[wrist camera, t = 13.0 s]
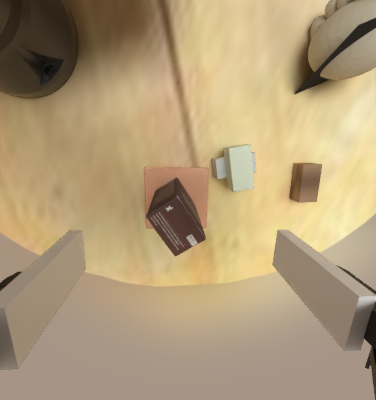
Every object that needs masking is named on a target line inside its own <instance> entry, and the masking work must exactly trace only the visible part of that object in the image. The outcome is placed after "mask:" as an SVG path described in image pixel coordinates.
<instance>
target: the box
mask: <svg viewBox="0 0 376 400" xmlns="http://www.w3.org/2000/svg"><path fill="white" fill-rule="evenodd" d="M146 217H147V219H148V220H149V222H150V223H151V224H152V226H153V227H154V229H155V230H156V231H157V233H158V234H159V235H160V237H161V238H162V239H163V241H164V242H165V243H166V245H167V246H168V248H169V249H170V250H171V252H172V253H173V254H174V255H175V256H177V255H179V254H181V253H183V252H184V251H186V250H188V249H189V248H191V247H193V246H194V245H196V244H198V243H200V242H202V241H204V240H205V239H206V237H205V234H204V231H203V227H202V225H201V221H200V218H199V215H198V212H197V209H196V206H195V204H194V202H193V201H192V199H191V197H190V196H189V194H188V193H187V191H186V190H185V188H184V187H183V185H182V184H181V182H180V181H179V179H178V178H177V177H176V178H174V179H172V180H171V181H170V182H168V183H166V184H165V185H163V186H162V187H160V188H159V189H157V190H155V193H154V196H153V198H152V201H151V204H150V207H149V210H148V212H147V215H146Z"/></svg>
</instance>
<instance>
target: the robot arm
mask: <svg viewBox="0 0 376 400" xmlns="http://www.w3.org/2000/svg"><path fill="white" fill-rule="evenodd" d="M77 55H78V36H77V30H76V26H75V23H74V20H73V17H72V15H71V12H70V10H69V8H68V7H67V5H66V3H65V2H64V0H0V91H1V92H4V93H7V94H10V95H13V96H17V97H23V98H37V97H42V96H46V95H48V94H51V93H53V92H55V91H56V90H58V89H59V88H60V87H61V86H62V85H64V84H65V82H66V81H67V80H68V79H69V77H70V75H71V74H72V72H73V70H74V67H75V64H76V60H77ZM272 265H273V266H274V268H275V269H276V270H277V271H278V272H279V273H280V275H281V276H282V277H283V278H284V279H285V281H286V282H287V283H288V284H289V286H290V287H291V288H292V289H293V290H294V292H295V293H296V294H297V295H298V296H299V297H300V299H301V300H302V301H303V302H304V303H305V305H306V306H307V307H308V308H309V309H310V311H311V312H312V313H313V314H314V316H315V317H316V318H317V319H318V320H319V321H320V323H321V324H322V325H323V326H324V327H325V329H326V330H327V331H328V332H329V334H330V335H331V336H332V337H333V338H334V339H335V341H336V342H337V343H338V344H339V346H340V347H341V348H342V349H343V350H344V351H352V350H361V347H362V344H363V340H364V339H365V340H366V341H367V342H368V343H369V344H370V345H371V346H372V347H371V350H370V353H369V357H368V359H367V362H366V366H365V368H367V369H369V366H370V365H371V368H372V376H373V385H374V393H375V400H376V291H375V290H373V289H372V288H371V287H369V286H368V285H366V284H365V283H363V282H362V281H361V280H360V279H358V278H356V277H355V276H354V275H353V274H351V273H350V272H349V271H347V270H345V269H343V268H341V267H339V266H337V265H335V264H333V263H332V262H331V261H329V260H328V259H327V258H325V257H324V256H323V255H321V254H320V253H319V252H317V251H316V250H315V249H313V248H312V247H311V246H309V245H308V244H307V243H305V242H304V241H302V240H301V239H300V238H298V237H297V236H296V235H294V234H293V233H292V232H290V231H289V230H278V231H277V238H276V244H275V251H274V258H273V264H272ZM85 269H86V263H85V254H84V244H83V235H82V231H69V232H67V233H66V234H65V235H64V236H63V237H62V238H61V239H59V240H58V241H57V242H56V243H55V244H54V245H53V246H51V247H50V248H49V249H48V250H47V251H46V252H45V253H43V254H42V255H41V256H40V257H39V258H38V259H37V260H36V261H34V262H33V263H32V264H31V265H30V266H29V267H27V268H26V269H25V270H24V271H23V272H17V273H15V274H13V275H11V276H9V277H7V278H6V279H5V280H3V281H2V282H1V283H0V370H10V369H19V368H20V366H21V365H22V363H23V362H24V360H25V359H26V357H27V356H28V354H29V353H30V351H31V350H32V348H33V347H34V345H35V344H36V342H37V341H38V339H39V338H40V336H41V335H42V333H43V332H44V330H45V329H46V327H47V326H48V324H49V323H50V321H51V320H52V318H53V317H54V315H55V314H56V312H57V311H58V309H59V308H60V306H61V305H62V303H63V302H64V300H65V299H66V297H67V296H68V294H69V293H70V291H71V290H72V288H73V287H74V285H75V284H76V282H77V281H78V280H79V278H80V277H81V275H82V273H83V272H84V271H85Z"/></svg>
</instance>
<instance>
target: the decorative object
mask: <svg viewBox="0 0 376 400" xmlns="http://www.w3.org/2000/svg"><path fill="white" fill-rule="evenodd" d="M310 39H311V43H310V46H309V50H308V62H309V64H310V67H311V68H312V70H313V71H314V74H313V75H312V76H311V77H310V78H309V79H308V80H307V81H306V82H305V83H304V84H303V85H302V87H301V88H300V89H299V90H298V91H297V92H296V93H295V94H297V93H299V92H301V91H304V90H306V89H308V88H311V87H313V86H316V85H318V84H320V83H323V82H325V81H327V80H330V79H334V80H340V79H348V78H352V77H356V76H359V75H361V74H364V73H366V72H368V71H370V70H372V69H373V68H375V67H376V0H330V1H329V2H328V4H327V5H326V8H325V15H322V16H319V17H318V18H316V19H315V20H314V22H313V24H312V26H311V32H310Z"/></svg>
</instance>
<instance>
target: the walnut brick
mask: <svg viewBox="0 0 376 400" xmlns="http://www.w3.org/2000/svg"><path fill="white" fill-rule="evenodd" d="M321 169H322V164H315V163H293V171H292V180H291V189H290V199H292V200H295V201H297V202H317V196H318V189H319V183H320V176H321Z"/></svg>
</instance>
